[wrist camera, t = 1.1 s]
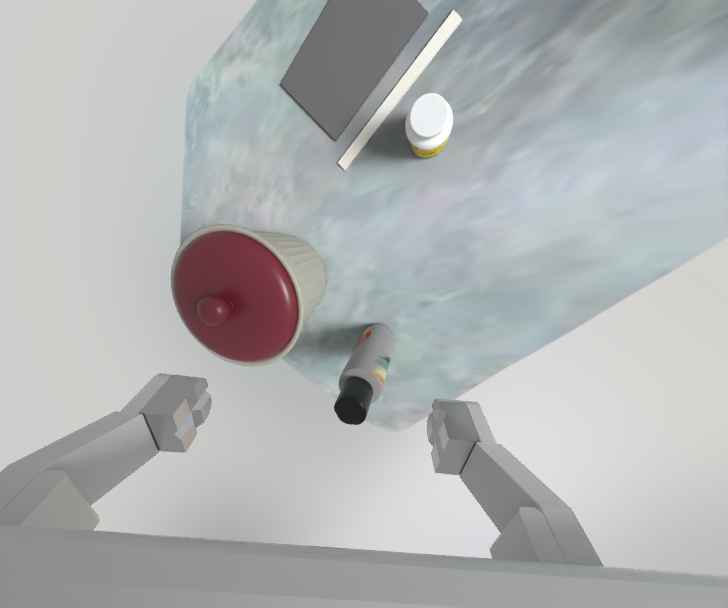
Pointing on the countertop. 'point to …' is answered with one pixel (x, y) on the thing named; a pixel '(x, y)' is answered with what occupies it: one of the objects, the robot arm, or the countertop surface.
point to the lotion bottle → (364, 374)
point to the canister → (246, 291)
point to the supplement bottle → (429, 125)
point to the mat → (349, 56)
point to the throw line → (401, 87)
